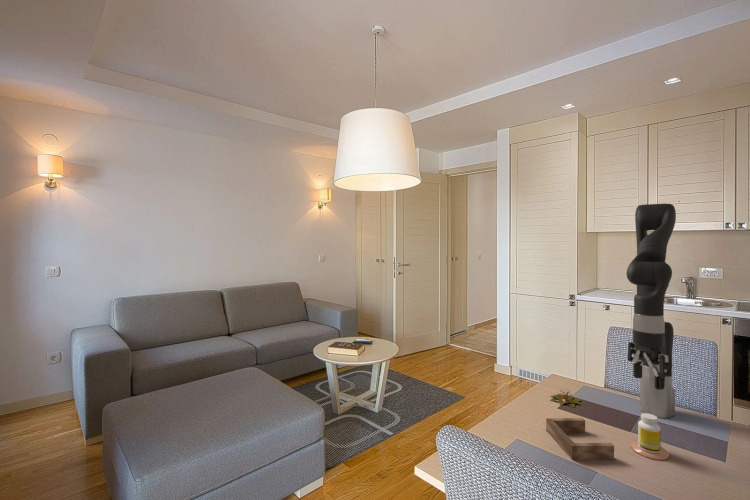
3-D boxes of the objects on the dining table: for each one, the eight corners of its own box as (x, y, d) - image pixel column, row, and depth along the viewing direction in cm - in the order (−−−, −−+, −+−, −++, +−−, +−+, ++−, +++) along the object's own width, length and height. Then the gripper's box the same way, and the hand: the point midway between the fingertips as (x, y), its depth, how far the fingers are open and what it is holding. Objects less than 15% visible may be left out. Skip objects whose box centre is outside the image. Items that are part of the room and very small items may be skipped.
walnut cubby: (582, 430, 120) (582, 418, 119) (614, 459, 104) (614, 445, 103) (546, 430, 120) (546, 418, 120) (571, 459, 104) (571, 445, 104)
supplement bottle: (664, 454, 104) (664, 421, 104) (643, 452, 105) (643, 419, 105) (654, 444, 110) (654, 412, 109) (634, 442, 111) (634, 411, 111)
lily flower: (577, 412, 133) (577, 399, 133) (543, 401, 142) (543, 390, 142) (587, 401, 141) (587, 390, 141) (555, 392, 150) (555, 381, 150)
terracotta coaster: (653, 442, 112) (653, 440, 112) (677, 460, 103) (677, 458, 103) (623, 442, 112) (623, 440, 112) (645, 460, 103) (645, 458, 103)
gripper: (681, 335, 100) (680, 393, 100) (643, 323, 114) (643, 373, 115) (654, 335, 100) (653, 393, 100) (619, 323, 114) (619, 374, 115)
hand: (648, 383), depth 108 cm, fingers open, 8 cm apart
